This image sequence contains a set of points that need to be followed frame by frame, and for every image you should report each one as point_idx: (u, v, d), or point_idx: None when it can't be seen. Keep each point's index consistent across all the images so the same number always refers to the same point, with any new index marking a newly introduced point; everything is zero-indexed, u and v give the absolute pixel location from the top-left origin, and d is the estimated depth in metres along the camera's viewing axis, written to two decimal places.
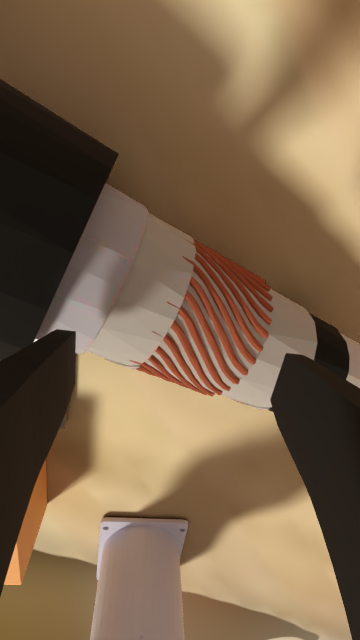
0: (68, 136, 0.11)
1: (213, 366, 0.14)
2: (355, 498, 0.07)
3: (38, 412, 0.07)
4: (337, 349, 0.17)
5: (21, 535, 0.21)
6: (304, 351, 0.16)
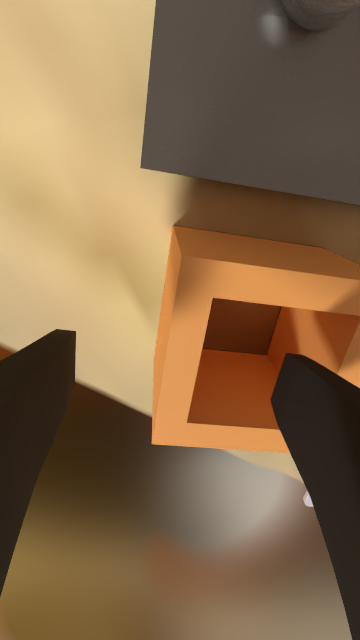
0: None
1: None
2: (355, 498, 0.07)
3: (38, 412, 0.07)
4: None
5: None
6: None
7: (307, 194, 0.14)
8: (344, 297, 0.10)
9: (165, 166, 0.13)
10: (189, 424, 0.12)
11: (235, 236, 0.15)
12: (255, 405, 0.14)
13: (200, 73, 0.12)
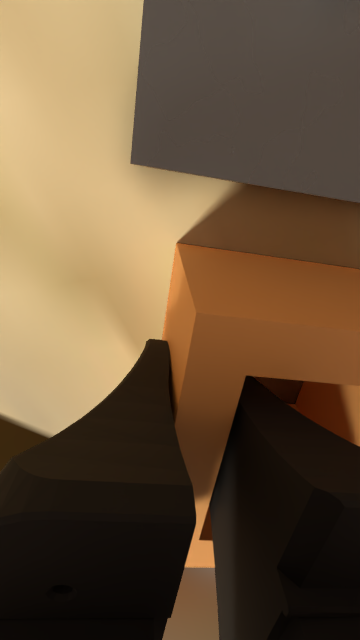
0: None
1: None
2: (229, 493, 0.07)
3: None
4: None
5: None
6: None
7: None
8: None
9: (166, 161, 0.09)
10: (202, 541, 0.08)
11: (261, 258, 0.11)
12: None
13: (219, 20, 0.08)
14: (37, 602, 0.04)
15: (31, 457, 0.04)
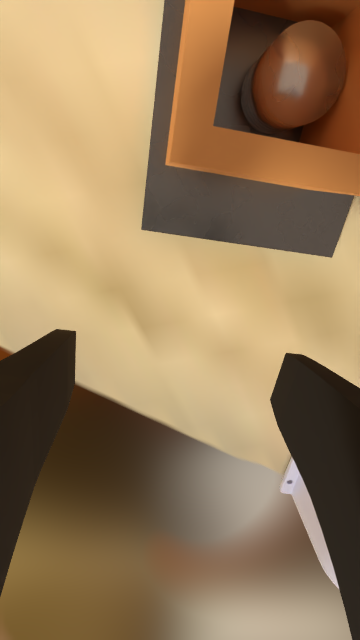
0: None
1: None
2: (355, 498, 0.07)
3: (38, 412, 0.07)
4: None
5: None
6: None
7: (270, 247, 0.18)
8: None
9: (160, 228, 0.17)
10: (216, 129, 0.10)
11: None
12: None
13: None
14: None
15: None
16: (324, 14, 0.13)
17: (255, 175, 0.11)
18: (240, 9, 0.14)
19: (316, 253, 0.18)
